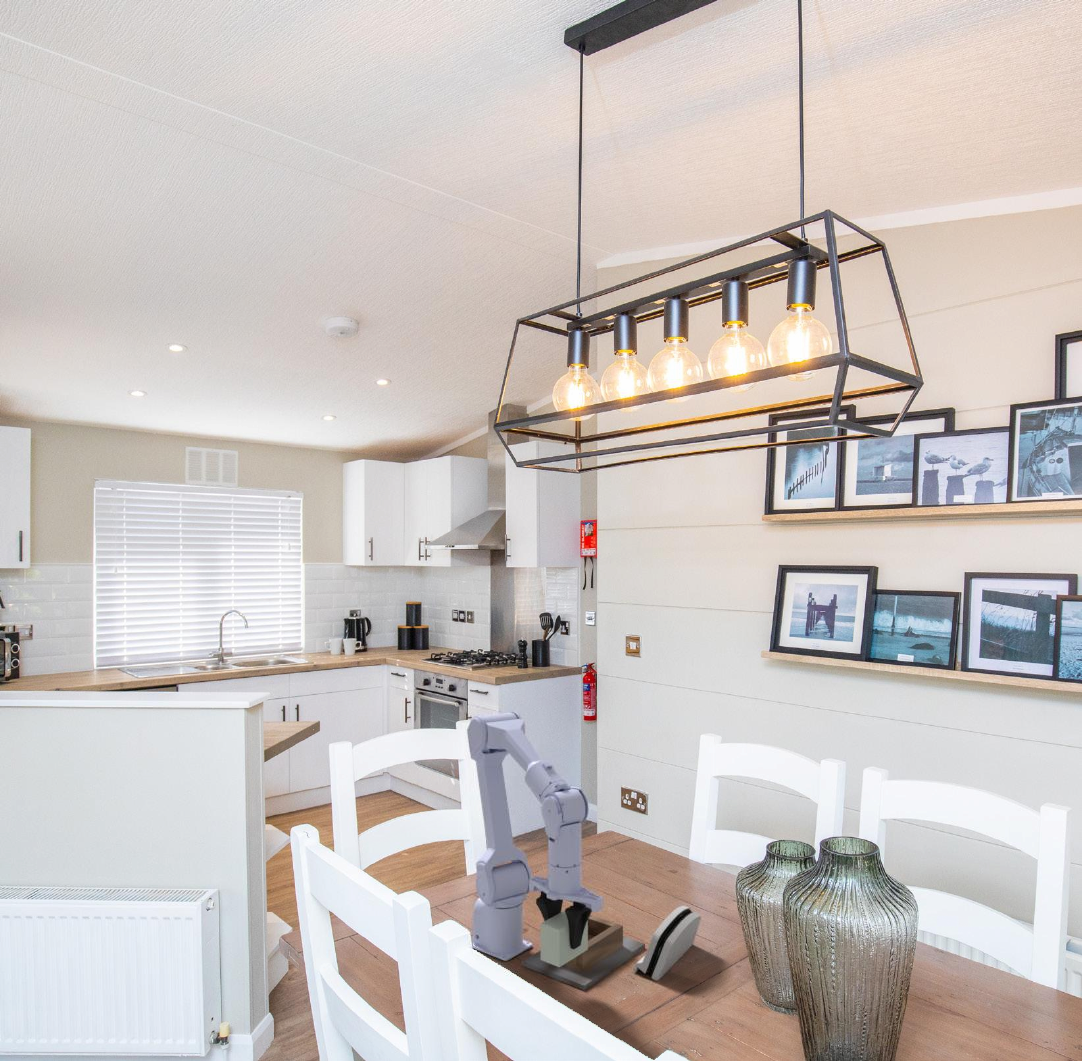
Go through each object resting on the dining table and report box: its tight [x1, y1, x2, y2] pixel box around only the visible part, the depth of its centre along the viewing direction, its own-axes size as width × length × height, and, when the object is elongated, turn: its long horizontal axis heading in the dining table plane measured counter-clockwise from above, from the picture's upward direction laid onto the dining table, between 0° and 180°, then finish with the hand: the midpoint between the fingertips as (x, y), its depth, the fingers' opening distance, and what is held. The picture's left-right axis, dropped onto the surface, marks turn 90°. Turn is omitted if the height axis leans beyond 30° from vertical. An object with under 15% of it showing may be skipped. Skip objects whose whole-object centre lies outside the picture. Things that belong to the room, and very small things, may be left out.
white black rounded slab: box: [632, 905, 702, 981], centre depth 148 cm, size 17×5×10 cm, turn 147°
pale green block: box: [540, 910, 588, 967], centre depth 137 cm, size 4×8×6 cm, turn 141°
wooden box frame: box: [521, 914, 646, 991], centre depth 150 cm, size 14×20×5 cm
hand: (564, 942), depth 136 cm, fingers closed on pale green block, 4 cm apart
